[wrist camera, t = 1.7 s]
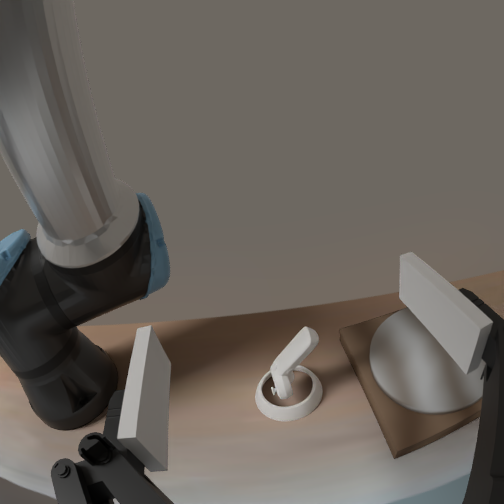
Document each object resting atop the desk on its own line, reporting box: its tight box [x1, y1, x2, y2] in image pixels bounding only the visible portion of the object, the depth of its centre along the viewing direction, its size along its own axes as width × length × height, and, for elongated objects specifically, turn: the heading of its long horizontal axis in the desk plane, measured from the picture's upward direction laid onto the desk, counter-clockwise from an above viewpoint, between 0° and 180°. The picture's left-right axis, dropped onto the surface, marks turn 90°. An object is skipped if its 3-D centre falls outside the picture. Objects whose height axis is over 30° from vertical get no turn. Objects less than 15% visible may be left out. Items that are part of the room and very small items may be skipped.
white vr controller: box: [255, 326, 323, 421], centre depth 32 cm, size 8×12×7 cm
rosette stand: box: [339, 307, 486, 459], centre depth 31 cm, size 18×18×3 cm
